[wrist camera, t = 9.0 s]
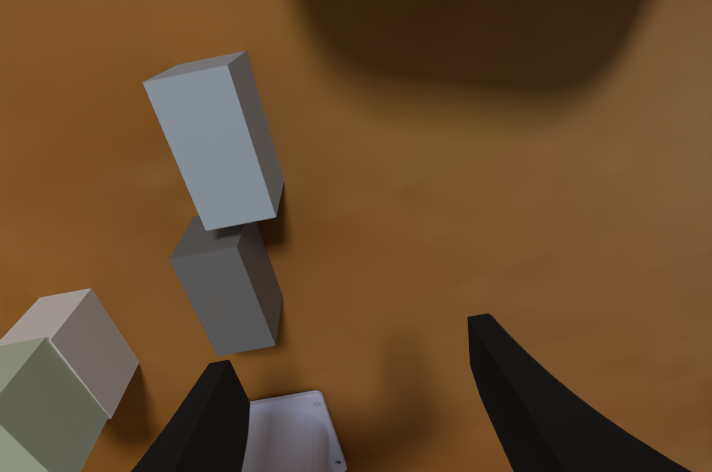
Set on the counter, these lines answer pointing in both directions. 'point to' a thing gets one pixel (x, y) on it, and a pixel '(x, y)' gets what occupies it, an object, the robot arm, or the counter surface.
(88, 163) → the counter surface
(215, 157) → the blue brick
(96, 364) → the grey brick
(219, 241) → the charcoal brick
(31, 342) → the sage brick
